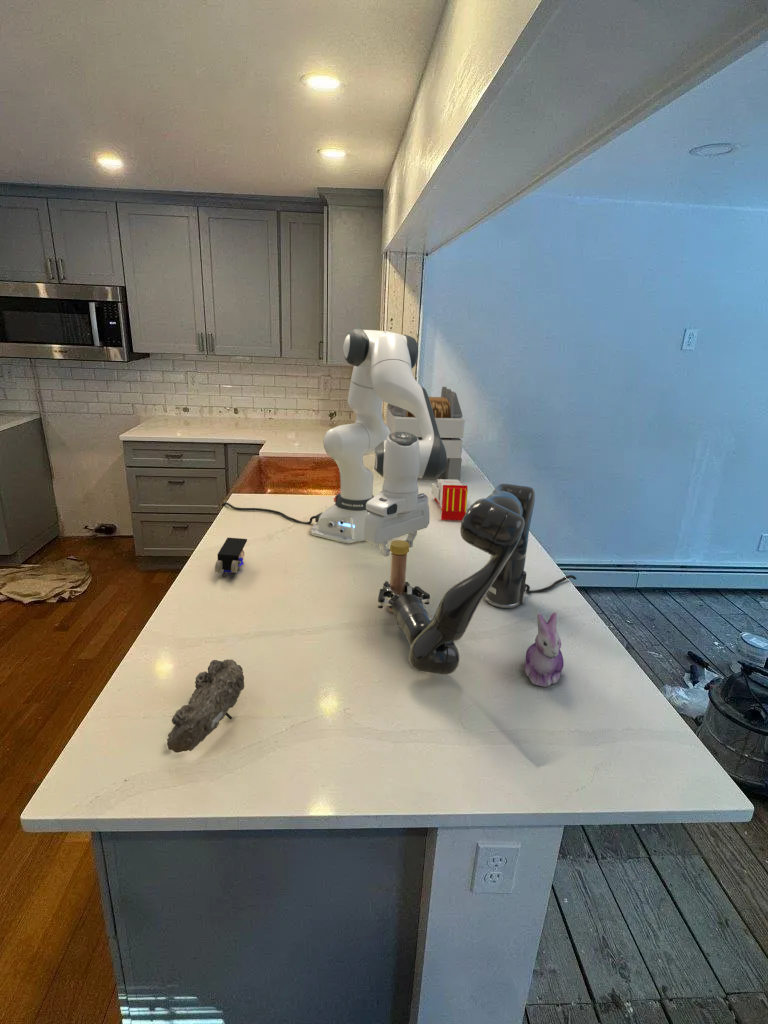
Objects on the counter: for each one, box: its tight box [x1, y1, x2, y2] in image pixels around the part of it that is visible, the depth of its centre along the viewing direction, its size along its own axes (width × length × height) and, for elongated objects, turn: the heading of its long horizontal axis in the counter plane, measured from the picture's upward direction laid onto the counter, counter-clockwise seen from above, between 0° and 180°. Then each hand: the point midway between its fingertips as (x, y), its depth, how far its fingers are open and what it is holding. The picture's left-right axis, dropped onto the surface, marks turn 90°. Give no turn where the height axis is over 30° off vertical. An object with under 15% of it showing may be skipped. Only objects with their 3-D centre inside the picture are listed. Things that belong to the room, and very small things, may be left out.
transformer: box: [385, 386, 465, 482], centre depth 268 cm, size 34×33×41 cm
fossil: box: [166, 658, 245, 754], centre depth 106 cm, size 22×10×15 cm
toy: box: [431, 478, 469, 522], centre depth 226 cm, size 12×13×30 cm
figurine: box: [524, 611, 565, 688], centre depth 122 cm, size 9×10×15 cm
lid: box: [389, 539, 410, 555], centre depth 144 cm, size 5×5×2 cm
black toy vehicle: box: [214, 537, 248, 578], centre depth 166 cm, size 7×8×15 cm
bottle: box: [388, 551, 408, 613], centre depth 147 cm, size 4×4×18 cm
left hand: (397, 551), depth 144 cm, fingers open, 7 cm apart
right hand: (394, 583), depth 150 cm, fingers closed on bottle, 4 cm apart
